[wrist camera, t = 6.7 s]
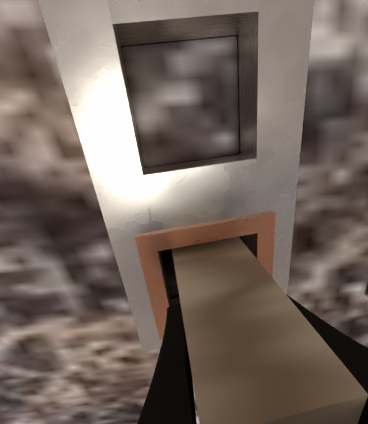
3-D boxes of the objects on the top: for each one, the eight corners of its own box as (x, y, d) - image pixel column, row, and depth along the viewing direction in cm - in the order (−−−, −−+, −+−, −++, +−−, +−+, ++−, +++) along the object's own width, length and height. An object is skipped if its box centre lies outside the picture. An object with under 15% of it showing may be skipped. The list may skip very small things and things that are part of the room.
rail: (285, -27, 9) (324, -73, 7) (270, 298, 16) (286, 322, 14) (52, -10, 8) (19, -57, 6) (144, 324, 15) (143, 354, 13)
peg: (237, 235, 12) (368, 394, 5) (239, 287, 14) (340, 469, 6) (171, 247, 12) (202, 438, 4) (180, 299, 13) (214, 507, 6)
